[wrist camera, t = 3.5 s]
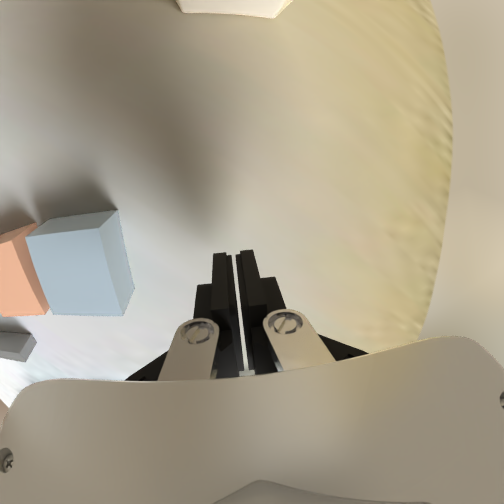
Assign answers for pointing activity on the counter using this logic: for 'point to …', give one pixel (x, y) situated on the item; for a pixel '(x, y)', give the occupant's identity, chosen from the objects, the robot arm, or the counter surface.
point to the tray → (16, 346)
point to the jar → (235, 7)
